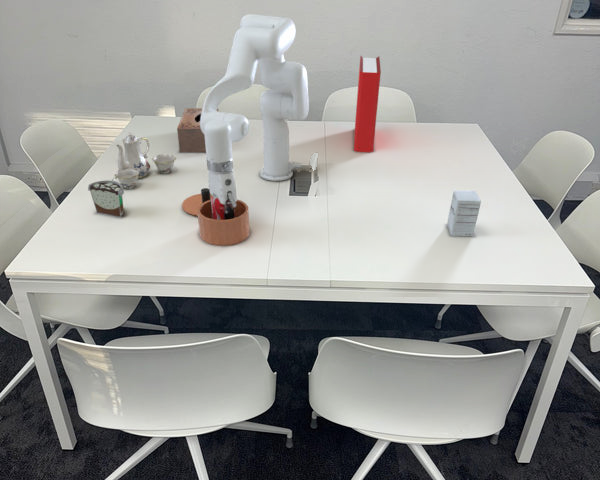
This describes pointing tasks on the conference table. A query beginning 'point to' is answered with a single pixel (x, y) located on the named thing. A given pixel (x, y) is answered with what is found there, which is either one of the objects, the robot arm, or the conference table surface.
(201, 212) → the ice bucket
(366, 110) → the book
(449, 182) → the conference table surface
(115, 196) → the food container
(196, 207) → the bucket lid
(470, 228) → the grey tower block
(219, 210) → the soda can
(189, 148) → the tissue box cover
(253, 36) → the robot arm
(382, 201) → the conference table surface
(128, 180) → the chinaware
